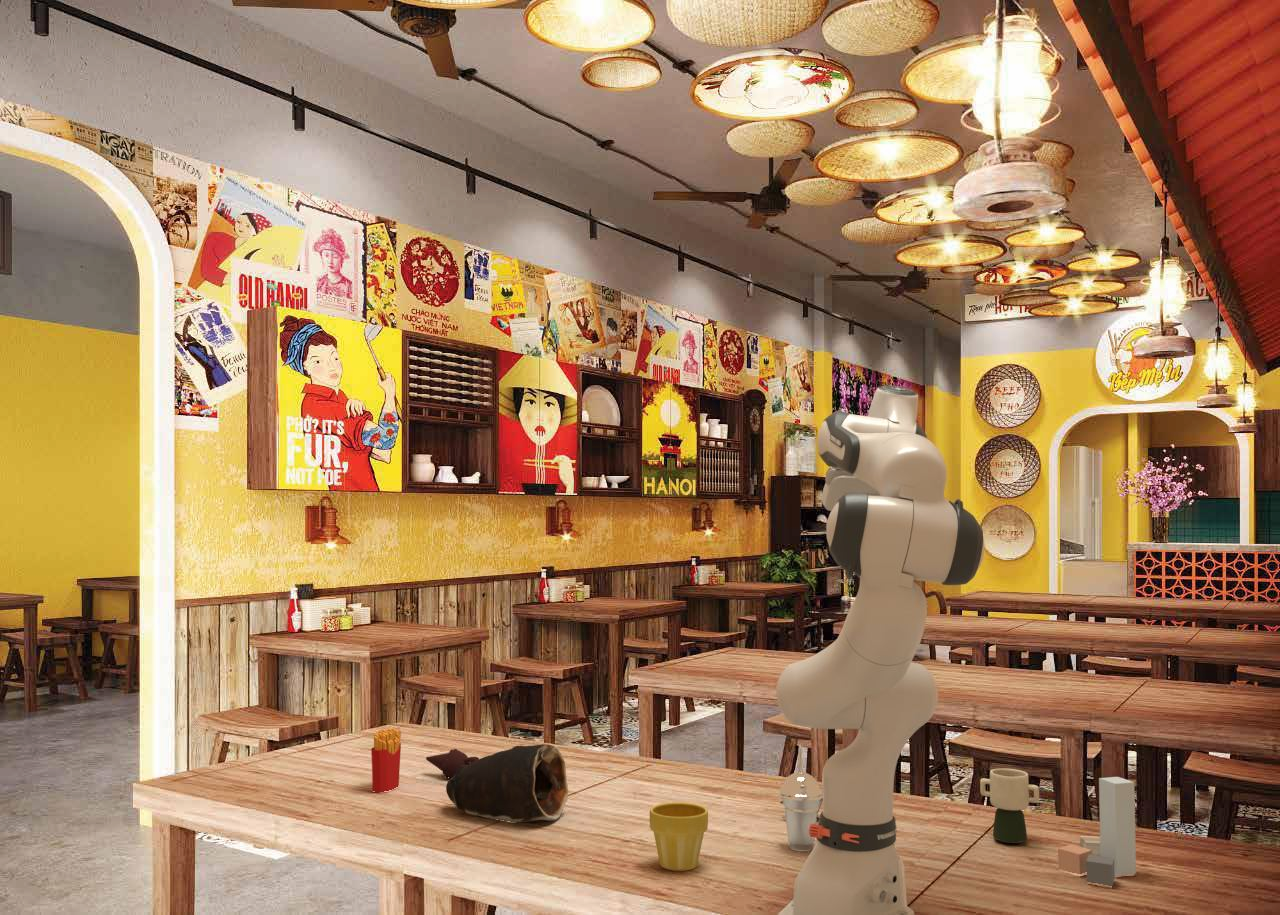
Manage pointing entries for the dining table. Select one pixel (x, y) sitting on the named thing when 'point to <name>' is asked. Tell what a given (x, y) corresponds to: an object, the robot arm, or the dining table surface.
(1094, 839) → the cream cube
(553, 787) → the dark brown tapered cylinder
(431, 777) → the dining table surface
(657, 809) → the plant pot
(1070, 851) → the terracotta cube
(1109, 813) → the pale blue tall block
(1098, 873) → the charcoal cube
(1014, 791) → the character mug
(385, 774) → the french fries
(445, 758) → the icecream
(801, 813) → the cup with straw
